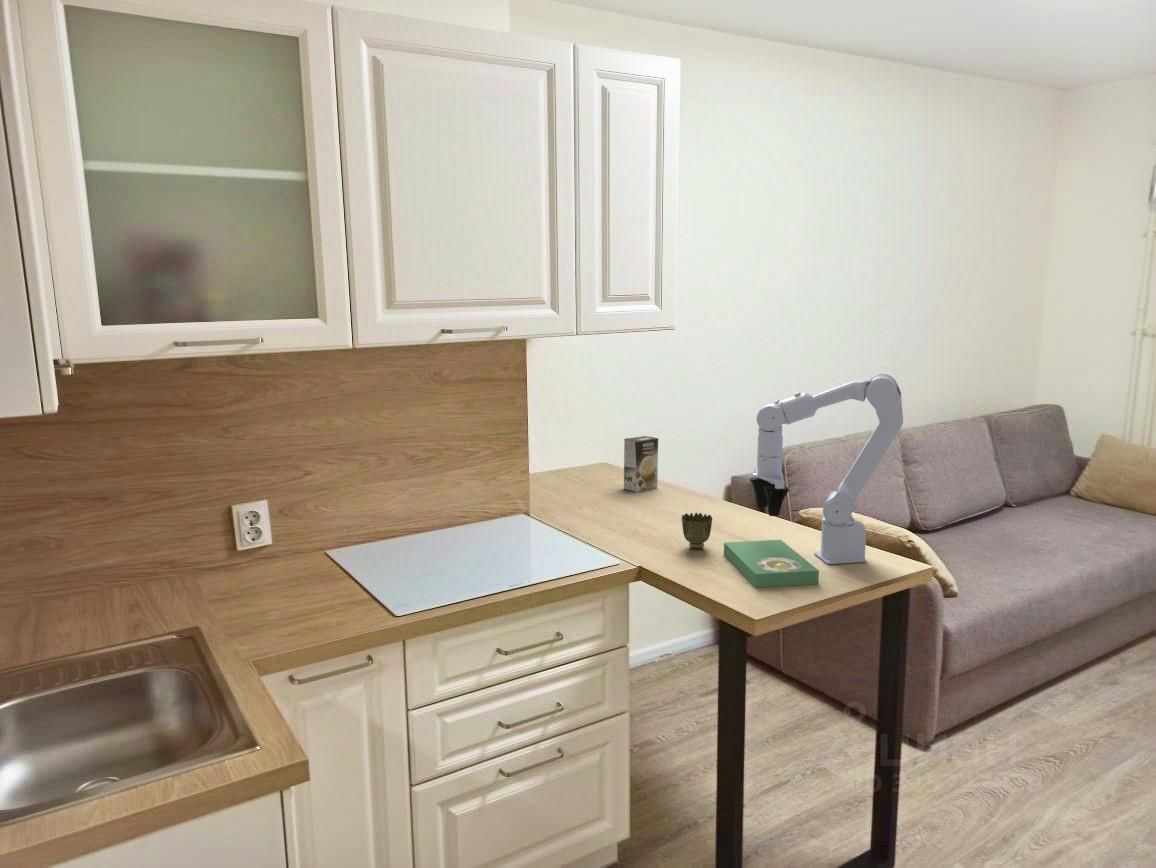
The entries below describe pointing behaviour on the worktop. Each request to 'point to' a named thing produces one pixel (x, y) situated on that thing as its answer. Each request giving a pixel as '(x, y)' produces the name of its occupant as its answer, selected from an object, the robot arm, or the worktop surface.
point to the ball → (781, 566)
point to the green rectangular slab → (770, 563)
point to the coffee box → (640, 463)
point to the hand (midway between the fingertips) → (768, 511)
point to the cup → (696, 529)
